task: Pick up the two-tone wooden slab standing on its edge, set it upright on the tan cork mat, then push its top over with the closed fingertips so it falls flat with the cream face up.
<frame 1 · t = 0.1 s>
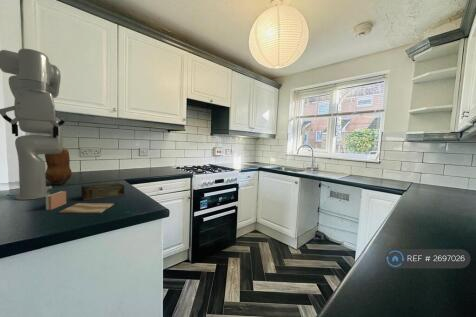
hand: (36, 137, 72), 31 cm above the countertop, tool pointing down, fingers open, 9 cm apart
mat: (88, 208, 90), on the countertop
beverage carton: (104, 197, 111), on the countertop
butternut squash: (59, 184, 134), on the countertop
slab: (56, 206, 91), on the countertop
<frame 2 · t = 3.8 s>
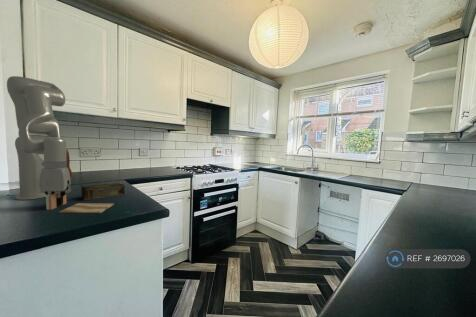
hand: (56, 205, 91), 0 cm above the countertop, tool pointing down, fingers closed on slab, 1 cm apart
slab: (56, 206, 91), on the countertop, touching gripper
everything else where it was.
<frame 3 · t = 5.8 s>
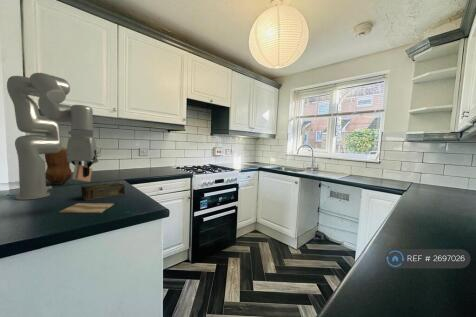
hand: (83, 175, 89), 15 cm above the countertop, tool pointing down, fingers closed on slab
slab: (81, 180, 88), point 13 cm above the countertop, tilted 18°, touching gripper
everything else where it was.
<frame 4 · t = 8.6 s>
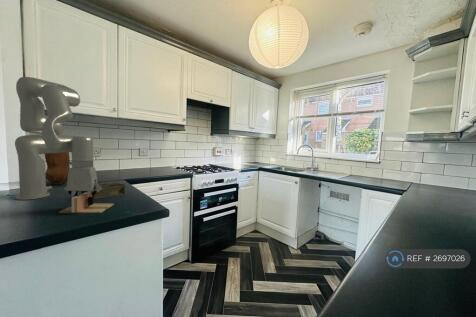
hand: (83, 204, 90), 2 cm above the countertop, tool pointing down, fingers open, 5 cm apart
slab: (81, 208, 88), point 1 cm above the countertop, touching mat
everything else where it was.
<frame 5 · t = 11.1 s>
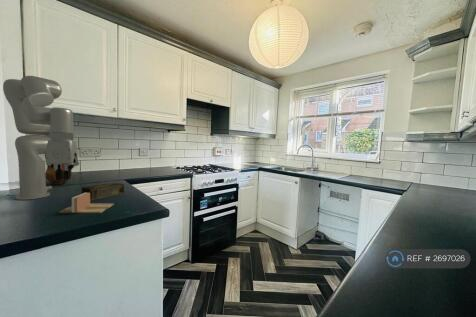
hand: (63, 179, 88), 13 cm above the countertop, tool pointing down, fingers closed
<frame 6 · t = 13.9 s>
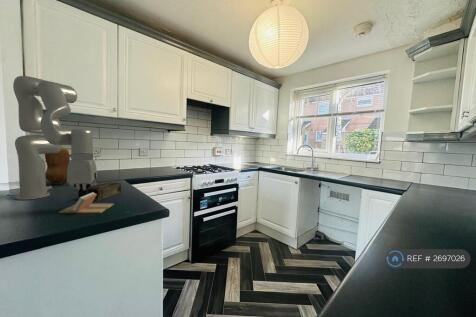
hand: (83, 198, 90), 5 cm above the countertop, tool pointing down, fingers closed
slab: (81, 207, 88), point 1 cm above the countertop, tilted 29°, touching mat
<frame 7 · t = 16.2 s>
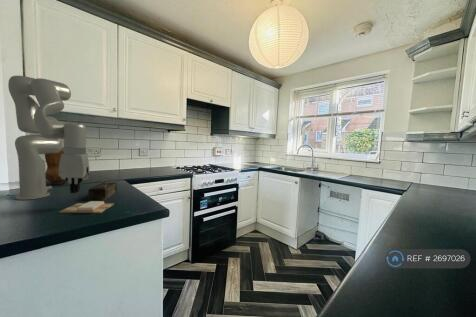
hand: (74, 192, 90), 7 cm above the countertop, tool pointing down, fingers closed
slab: (84, 206, 88), point 2 cm above the countertop, tilted 90°, touching mat
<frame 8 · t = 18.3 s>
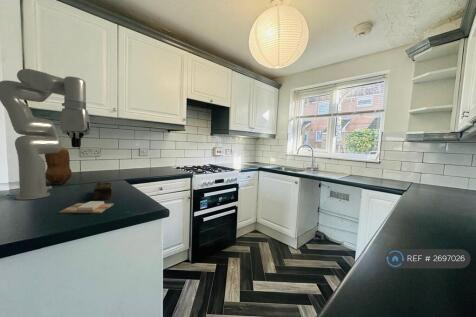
hand: (76, 147, 91), 27 cm above the countertop, tool pointing down, fingers closed
at the end: slab tilted 90°; slab inside the target area on the mat (2.3 cm from its centre), point 1.6 cm above the mat's base; the gripper is holding nothing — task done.
